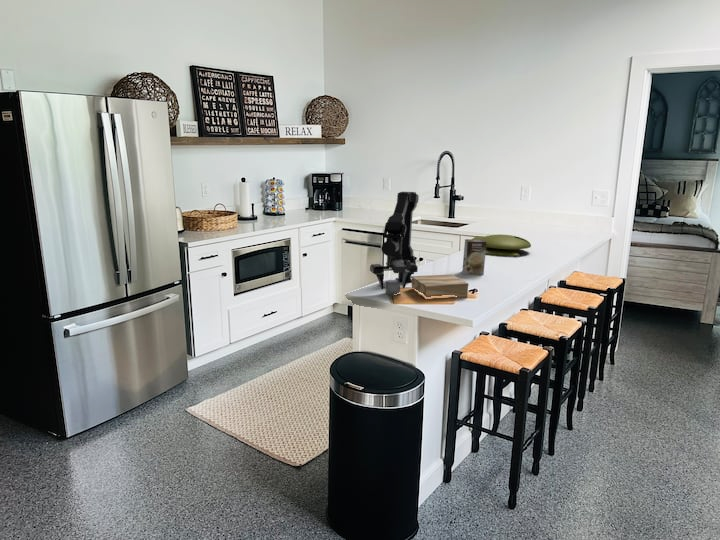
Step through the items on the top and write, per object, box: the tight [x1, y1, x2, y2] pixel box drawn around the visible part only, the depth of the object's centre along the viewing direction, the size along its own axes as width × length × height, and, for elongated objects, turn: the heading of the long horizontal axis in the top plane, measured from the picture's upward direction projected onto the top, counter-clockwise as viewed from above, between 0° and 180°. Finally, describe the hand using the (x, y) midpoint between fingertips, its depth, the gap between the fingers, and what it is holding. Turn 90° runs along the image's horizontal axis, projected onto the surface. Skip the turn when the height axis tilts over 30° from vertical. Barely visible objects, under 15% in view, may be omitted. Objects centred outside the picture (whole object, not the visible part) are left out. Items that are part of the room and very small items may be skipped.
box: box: [411, 278, 469, 299], centre depth 219 cm, size 16×18×5 cm
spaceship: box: [472, 234, 532, 258], centre depth 311 cm, size 35×31×10 cm
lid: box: [411, 273, 469, 287], centre depth 218 cm, size 16×18×1 cm
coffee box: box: [462, 238, 487, 276], centre depth 254 cm, size 9×6×16 cm
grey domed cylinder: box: [384, 279, 401, 297], centre depth 216 cm, size 6×6×5 cm
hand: (393, 288), depth 217 cm, fingers open, 9 cm apart
